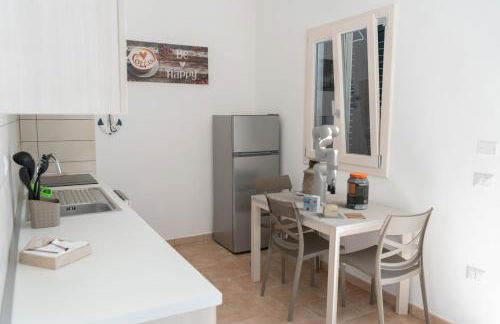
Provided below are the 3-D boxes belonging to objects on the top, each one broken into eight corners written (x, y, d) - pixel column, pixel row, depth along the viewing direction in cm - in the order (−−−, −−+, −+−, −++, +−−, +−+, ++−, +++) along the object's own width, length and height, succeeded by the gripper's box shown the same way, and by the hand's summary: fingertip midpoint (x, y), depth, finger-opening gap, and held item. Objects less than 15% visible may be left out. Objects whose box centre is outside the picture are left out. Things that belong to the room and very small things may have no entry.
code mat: (315, 213, 273) (315, 212, 273) (339, 213, 273) (339, 213, 273) (319, 218, 259) (319, 218, 259) (344, 219, 259) (344, 218, 259)
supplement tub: (367, 205, 298) (369, 172, 295) (368, 210, 283) (369, 175, 280) (346, 204, 302) (347, 171, 299) (345, 209, 287) (347, 174, 284)
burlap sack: (322, 198, 323) (324, 160, 319) (294, 195, 333) (295, 158, 329) (329, 193, 345) (331, 157, 341) (303, 190, 356) (304, 155, 352)
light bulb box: (302, 210, 282) (303, 195, 280) (306, 208, 287) (306, 194, 286) (317, 212, 277) (317, 197, 275) (320, 210, 282) (320, 195, 281)
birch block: (322, 214, 269) (322, 204, 268) (335, 214, 269) (335, 204, 268) (324, 216, 263) (324, 206, 262) (337, 216, 263) (338, 206, 262)
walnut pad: (343, 214, 272) (343, 213, 272) (360, 214, 273) (360, 213, 272) (348, 218, 260) (348, 217, 260) (366, 218, 261) (366, 217, 261)
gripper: (323, 166, 270) (323, 190, 272) (329, 169, 253) (328, 195, 255) (334, 166, 271) (333, 190, 272) (340, 169, 253) (339, 195, 255)
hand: (331, 192), depth 264 cm, fingers open, 9 cm apart
